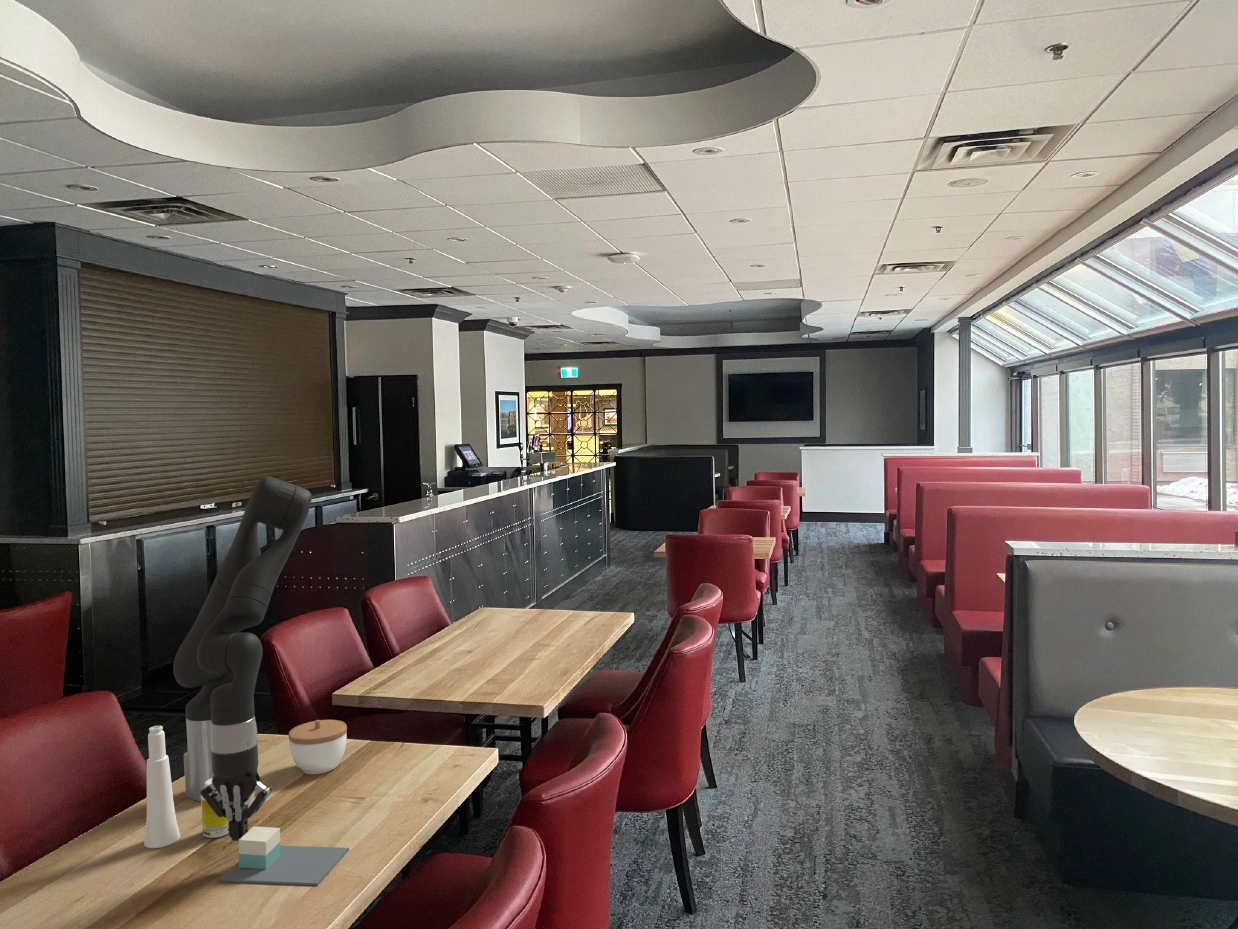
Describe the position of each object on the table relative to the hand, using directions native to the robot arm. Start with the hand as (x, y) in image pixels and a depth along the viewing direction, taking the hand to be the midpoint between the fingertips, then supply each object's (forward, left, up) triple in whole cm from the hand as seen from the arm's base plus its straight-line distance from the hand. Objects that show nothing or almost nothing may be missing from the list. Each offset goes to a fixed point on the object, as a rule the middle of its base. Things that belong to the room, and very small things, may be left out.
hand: (238, 838), depth 150 cm
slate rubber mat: (+9, 0, -5) cm, 10 cm away
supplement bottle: (-11, +11, -5) cm, 17 cm away
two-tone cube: (+4, 0, -4) cm, 6 cm away
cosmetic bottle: (-20, +7, -5) cm, 22 cm away
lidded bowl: (-6, +42, -5) cm, 43 cm away
